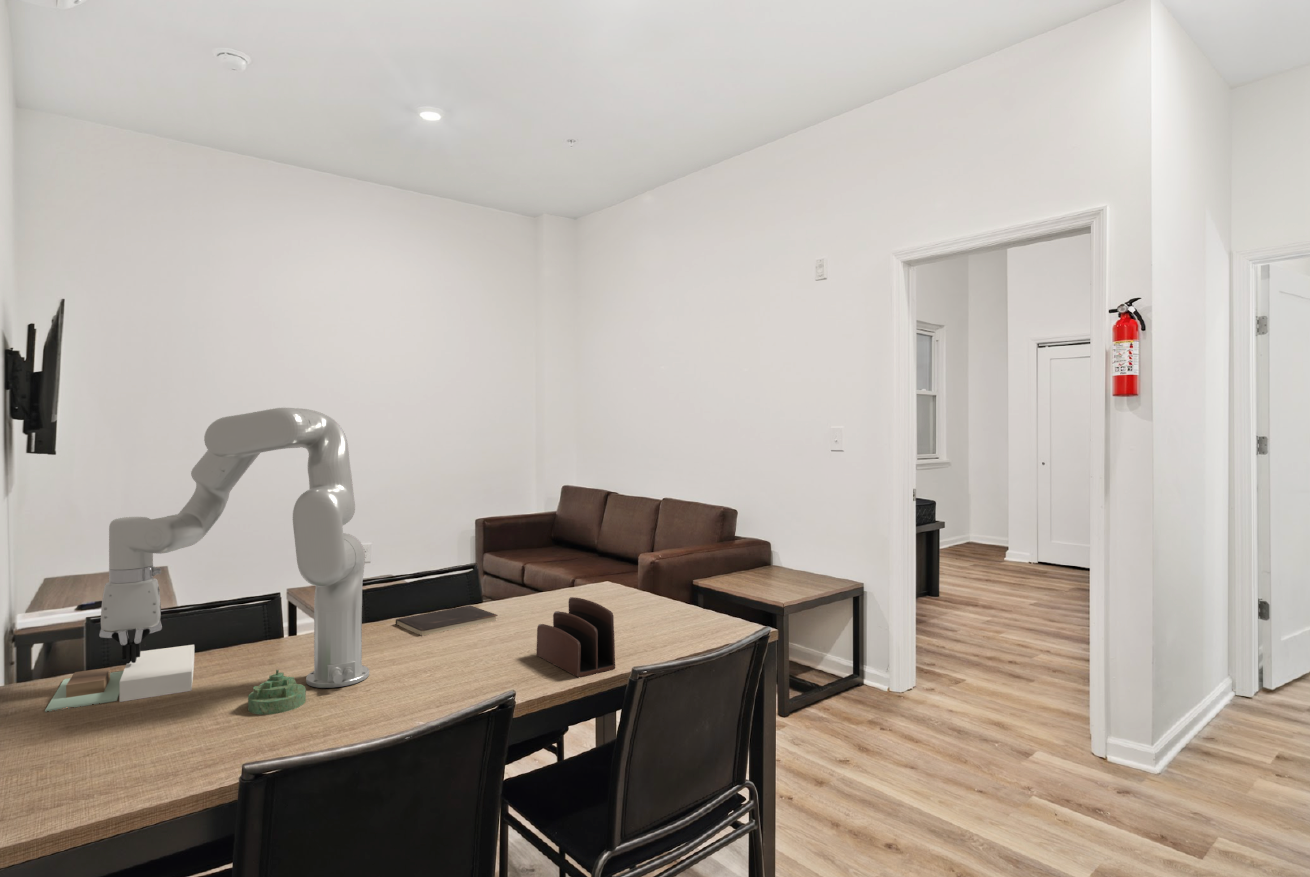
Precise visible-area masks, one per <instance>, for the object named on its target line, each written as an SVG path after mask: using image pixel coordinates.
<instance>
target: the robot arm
mask: <svg viewBox="0 0 1310 877" xmlns="http://www.w3.org/2000/svg"><path fill="white" fill-rule="evenodd" d="M203 441H204V445H205V447H206V449H207V450H206V452H205V453H204V454H203V456H201V458H200V459H199V460H198V461H197V463H195V465H194V467H193V468H192V469H191V471H190V475H191V479H192V480H193V481H194V482H195V490H194V493H193V494H192V496H191V498H190V499H189V500H188V502H187V503H186V504H185V505H184V506H183V507H182V508H181V510H180V511H179V512H178V513H177V514H172V515H166V516H161V517H158V518H152V519H151V518H150V517H147V516H129V517H128V516H126V517H125V516H124V517H118V518H115V519H113V520H112V521H110V523H109V527H108V582H106V583H105V584H104V587H103V592H102V597H101V598H102V599H101V608H100V609H101V612H100V630H99V637H100V638H105V639H113V640H114V641H115V642H116V641H117V642H118V643H119V644H120V645H121V646H122V647H121V648H122V649H121V651H122V654H121V655H122V656H121V660H125V664H129V663H130V662H132V663H135V662H136V659H137V657H140V651H141V642H142V641H143V640H144V639H145V638H146V637H147V636H148V635H149V634H153V633H157V632H160V631H161V630H162V629H163V626H162V621H161V617H162V607H161V605H162V604H161V592H160V585H159V581H158V579H157V578H154V576H157V575H162V568H161V567H155V566H154V554H157V555H158V554H160V555H161V554H166V553H171V552H174V551H178V550H180V549H181V550H182V549H184V548H188V547H191V546H193V545H195V544H197V543H198V542H200V541H201V540H202V539H203V538H204V537H205V536H206V535H208V534H207V533H209V531H210V530H211V528H213V526H214V525H215V524H216V522H217V521H218V520H219V519H220V517H221V515H222V514H223V512H224V510H225V509H226V505H227V503H228V501H229V497H230V493H231V491H232V490H233V488H234V487H235V486H236V485H237V483H238V482H239V481H240V479H241V478H242V477H243V475H244V474H245V473H246V471H247V470H248V469H249V468H250V467H251V465H252V464H254V462H255V461H256V460H257V458H258V457H259V455H260V454H261V453H265V452H266V453H267V452H271V451H278V450H284V449H298V448H302V449H303V448H304V449H306V450H307V453H308V458H307V475H308V485H309V487H308V488H309V489H307V490H306V491H304V492H303V493H302V494H301V495H299V496H298V498H297V499H296V501H295V504H294V505H293V510H292V526H293V537H294V547H295V554H296V555H295V556H296V562H297V563H296V564H297V567H298V571H299V573H300V576H301V577H302V578H303V579H304V580H305V581H306V582H307V583H309V584H310V585H313V586H314V587H315V588H314V600H313V601H314V602H313V604H314V605H313V607H314V608H313V609H314V610H313V616H314V617H313V622H314V623H313V624H314V626H313V629H314V631H313V632H314V633H313V638H314V640H313V642H314V644H313V648H314V649H313V656H314V657H313V659H314V660H313V661H314V662H313V663H314V664H313V671H311V672H309V673H308V674H307V675H306V677H305V683H306V684H307V685H308V686H310V687H313V688H318V689H319V688H321V689H332V688H333V689H334V688H340V687H346V686H351V685H354V684H358V683H360V682H362V681H364V680H366V679H367V678H368V677H369V675H370V668H369V667H368V666H365V665H363V662H362V660H363V657H362V656H363V653H362V652H363V650H362V649H363V645H362V642H363V640H362V639H363V638H362V636H363V632H362V631H363V629H362V627H363V624H362V622H363V618H362V617H363V607H362V606H363V580H364V572H365V563H366V553H365V549H364V547H363V544H362V542H361V540H359V539H358V538H357V537H356V536H354V535H352V534H350V533H346V532H345V533H344V527H343V526H345V525H346V524H348V523H349V522H350V521H351V520H352V519H353V517H354V515H355V512H356V502H355V501H356V500H355V494H354V487H353V484H354V483H353V478H352V476H353V475H352V470H351V462H350V452H349V451H350V450H349V445H348V439H347V436H346V433H345V430H343V428H342V426H341V425H340V423H338V421H336V420H335V419H333V418H332V417H331V416H329V415H327V414H325V413H322V412H320V411H316V410H312V409H307V408H299V407H297V408H295V407H276V408H270V409H263V410H258V411H252V412H247V413H241V414H236V415H228V416H223V417H220V418H218V419H215V420H214V421H213V422H211V424H209V426H208V427H207V428H206V430H205V433H204V440H203ZM133 630H134V631H135V635H134V638H132V642H131V638H129V634H128V633H129V632H128V631H133Z"/></svg>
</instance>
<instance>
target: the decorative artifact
mask: <svg viewBox="0 0 1310 877" xmlns="http://www.w3.org/2000/svg"><path fill="white" fill-rule="evenodd" d="M268 677H269V678H267V680H266V681H264V682H262V683H260V684H259V685H256V686H253V687H252V688H253V689H252V691H251V693H249V694H248V696H247V697H248V699H247V705H248V706H247V710H248V712H250V713H251V714H254V715H261V716H262V715H263V716H264V715H267V716H268V715H275V714H282V713H285V712H290V711H293V710H295V709H297V708H300V707H302V706H303V705H304V704H305V703H306V700H307V699H306V697H307V696H306V691H307V690H306V686H305V685H303V684H301V683H297V681H296V679H295V677H294V676H287V675H284V672H279V669H275V673H273V674H270V675H269V676H268Z"/></svg>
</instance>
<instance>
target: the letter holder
mask: <svg viewBox="0 0 1310 877" xmlns="http://www.w3.org/2000/svg"><path fill="white" fill-rule="evenodd" d="M567 602H568V612H565V611H559V610H558V611H554V612H553V615H552V621H553V622H552V625H549V624H543V623H542V624H541V623H540V624H538V625H537V629H536V656H537V657H539V658H541V659H543V660H545V661H546V662H548V663H550V664H551V665H554V666H556V667H557V668H559V669H562V670H563V671H565V672H567V673H569V674H571V675H573V676H575V677H576V678H578V677H580V678H583V677H587V676H591V675H595V674H596V673H597V674H600V673H605V672H609V671H612V670H615V669H616V647H615V641H616V640H615V625H614V624H615V622H614V621H615V619H614V614H613V612H612V611H611V610H609V609H608V608H606V607H605V606H603V605H601V604H599V603H597V602H595V601H591V600H588V599H584V598H580V597H577V596H576V597H574V596H572V597H569V598H568V601H567ZM597 674H596V675H597Z"/></svg>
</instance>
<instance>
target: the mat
mask: <svg viewBox="0 0 1310 877" xmlns="http://www.w3.org/2000/svg"><path fill="white" fill-rule="evenodd" d="M123 672H124V670H121V671H120V670H119V671H114V672H113V671H112V672H110V680H109V683H108V685H107V687H106V689H105V691H104V692H102V693H95V694H89V695H82V696H75V697H68V698H66V685H67V683H68V682H69V680H70V679H71V677H70V678H64V679H63V680H62V682H61V683H60V685H59V686H58V689H57V690H56V692H55V693H54V695H53V696H52V698H51V700H50V701H49V702H48V705H47V707H46V708H45V709H44V712H45V713H48V712H47V711H49V712H53V711H52V710H55V711H58V710H57V709H62V708H66V707H68V709H70V708H69V707H74V708H79V707H80V706H81V707H86V706H93V705H92V704H94V705H99V703H100V704H106V703H111V702H113V703H114V702H117V701H118V700H119V698H120V679H121V677H122V674H123ZM62 710H63V709H62Z"/></svg>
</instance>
